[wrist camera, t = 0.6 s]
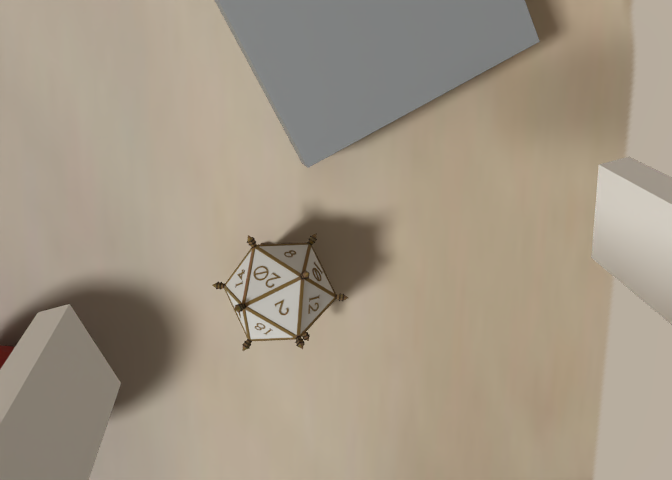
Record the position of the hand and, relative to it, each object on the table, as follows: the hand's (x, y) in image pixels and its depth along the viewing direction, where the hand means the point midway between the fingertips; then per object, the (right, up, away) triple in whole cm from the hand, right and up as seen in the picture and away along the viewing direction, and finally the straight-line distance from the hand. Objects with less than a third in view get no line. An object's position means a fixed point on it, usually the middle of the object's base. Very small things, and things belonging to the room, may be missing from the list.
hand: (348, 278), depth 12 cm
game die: (-5, -2, +26) cm, 27 cm away
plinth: (+1, +18, +23) cm, 29 cm away
